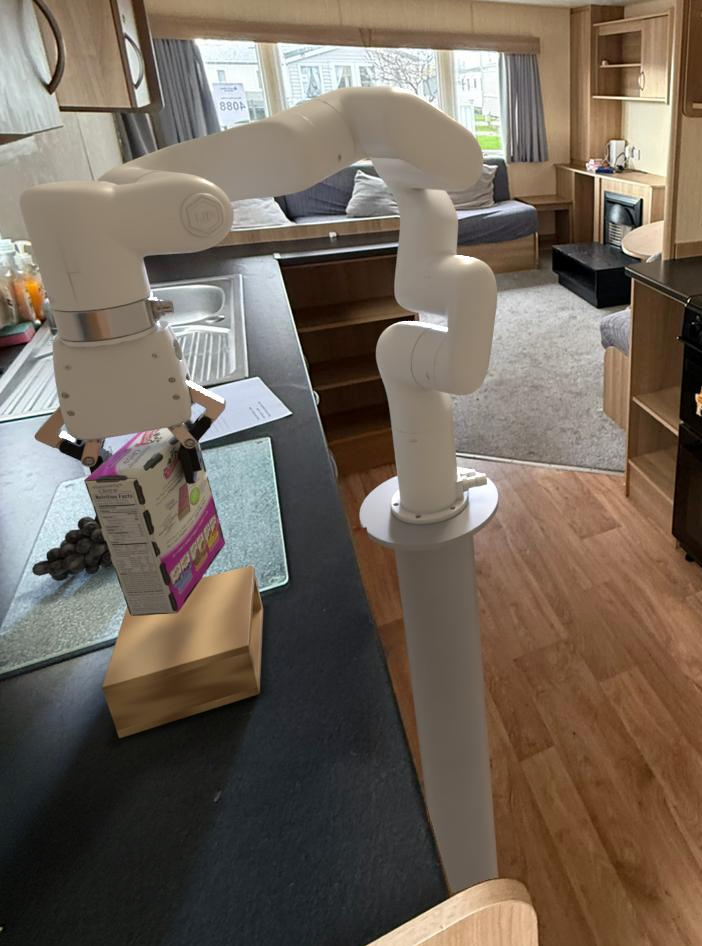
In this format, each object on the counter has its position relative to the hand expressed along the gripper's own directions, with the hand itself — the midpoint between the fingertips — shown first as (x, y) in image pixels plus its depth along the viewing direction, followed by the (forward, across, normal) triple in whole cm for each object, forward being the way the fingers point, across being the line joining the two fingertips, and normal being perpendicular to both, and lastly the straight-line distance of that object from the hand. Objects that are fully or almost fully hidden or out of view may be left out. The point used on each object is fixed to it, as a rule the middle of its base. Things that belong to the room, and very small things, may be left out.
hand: (153, 483), depth 66 cm
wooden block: (+25, +1, -1) cm, 25 cm away
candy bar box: (+12, 0, 0) cm, 12 cm away
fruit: (+25, +14, -27) cm, 40 cm away
